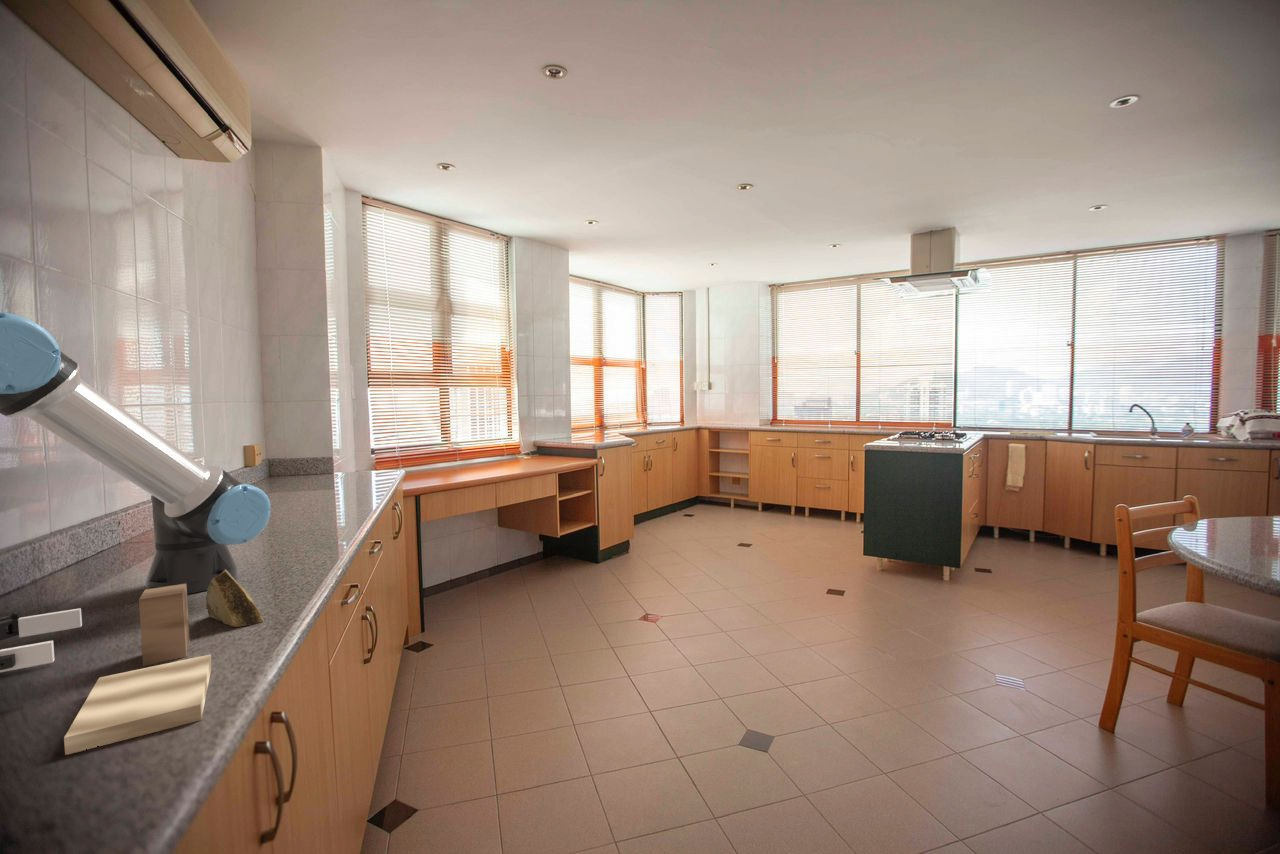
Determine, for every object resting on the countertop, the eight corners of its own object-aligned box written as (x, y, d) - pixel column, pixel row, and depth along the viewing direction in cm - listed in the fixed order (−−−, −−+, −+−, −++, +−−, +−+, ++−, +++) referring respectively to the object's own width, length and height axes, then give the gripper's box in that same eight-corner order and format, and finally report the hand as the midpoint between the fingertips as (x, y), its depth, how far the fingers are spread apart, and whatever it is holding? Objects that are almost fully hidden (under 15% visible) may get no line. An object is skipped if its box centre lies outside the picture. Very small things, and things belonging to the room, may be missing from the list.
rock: (188, 606, 101) (183, 616, 93) (222, 562, 104) (220, 568, 96) (248, 631, 106) (249, 643, 97) (279, 588, 109) (282, 596, 101)
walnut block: (148, 652, 88) (144, 589, 87) (189, 644, 91) (186, 583, 90) (143, 665, 84) (138, 599, 83) (186, 657, 86) (182, 592, 86)
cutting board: (100, 691, 76) (99, 677, 76) (211, 667, 83) (210, 654, 83) (65, 755, 63) (63, 737, 63) (201, 720, 70) (200, 704, 69)
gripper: (-115, 664, 80) (91, 628, 91) (-248, 759, 59) (40, 697, 71) (-119, 612, 79) (88, 583, 91) (-256, 689, 59) (36, 639, 70)
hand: (68, 633), depth 81 cm, fingers open, 13 cm apart
